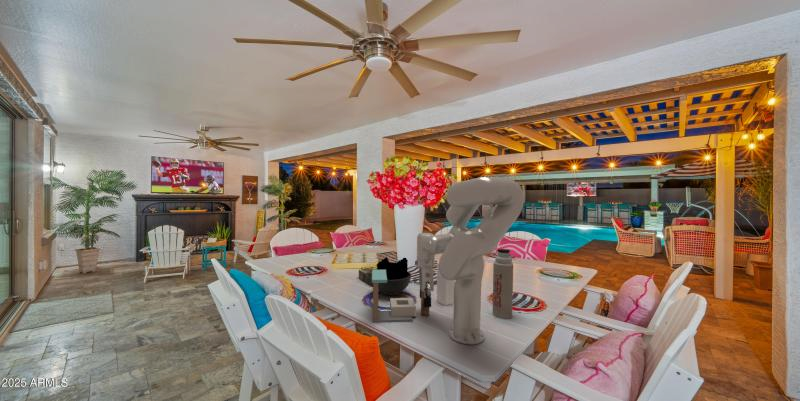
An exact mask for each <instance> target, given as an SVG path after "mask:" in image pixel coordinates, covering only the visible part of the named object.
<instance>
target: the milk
mask: <svg viewBox="0 0 800 401" xmlns="http://www.w3.org/2000/svg"><path fill="white" fill-rule="evenodd" d="M436 264H437V265H436V303H439V304H441V305H443V306H446V307H447V306H449V305H454V285H455V280H447V279H445V278H444V277H442V275H441V274H440V272H439V260H438V261H437V263H436Z"/></svg>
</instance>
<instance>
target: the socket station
mask: <svg viewBox="0 0 800 401" xmlns="http://www.w3.org/2000/svg"><path fill="white" fill-rule="evenodd" d="M372 283H373V287H372V323H373V324H374V323H402V322H405V323H406V322H410V323H411V322H414V319H413V317H416V315H417V314H416V313H417V312H416V309H417V308H416V304H415V301H414V300H415V299H414V298H413V297H395V298H394V297H390V298H389V303H390V304H389V305H390V307H391V311H380V310H378V305H379V290H378V283H387V275H386V270H377V269H375V270H372Z"/></svg>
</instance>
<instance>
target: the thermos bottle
mask: <svg viewBox="0 0 800 401" xmlns="http://www.w3.org/2000/svg"><path fill="white" fill-rule="evenodd" d="M510 252H511V250H510V249H508V248H507V249H506V248H498V249H497V255H496V256H495V258H494V259H495V260H494V261H493V263H492V264H493V269H492V270H493V273H492V274H493V275H492V276H493V277H492V282H493V283H492V315H493V316H494V317H496V318H498V319H506V320H507V319H512V317H513V303H514V302H513V295H514V292H513V291H514V262H513V260H512V259H513V258H512V257H511V256H510Z"/></svg>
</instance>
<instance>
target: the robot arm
mask: <svg viewBox="0 0 800 401" xmlns="http://www.w3.org/2000/svg"><path fill="white" fill-rule="evenodd" d="M445 197H446V202H447V203H448V205H450V206H449V208H448V209H447V211H446V214H445V217H446V219H447V221H448V223H450V224H451V225H452V227H451V228H450V230H449V231H448V232H447V233H442V234H436V235H435V234H433V233H431V232H420V233H418V234H417V237H416V267H417V268H418V283H419V284H418V285H419V299H421V290H422V291H423V292H424V297H423V307H429V308H431V307H432V292H434V291H435V286H434V285H435V284H434V281H435V280H434V279H435V278H434V268H435V264H436V260H435V259H436V255H440V254H441V255H440V258H439V260H438V261H439V272H440V274H441V275H442V277H444V278H445V279H447V280H455V285H454V303H453V320H452V321H453V326H452V327H450V328H449V330H448V335H449V337H450V339H452V340H453V341H455V342H456V343H460V344H465V345H478V344H481V343H482V342H483V341H484V340H485V337H486V336H485V333H484V332H483V330H481V304H482V297H481V296H482V281H483V275H484V274H483V273H484V270H485V260H484V256H488V255H489V254H491V253H492V252H493V251H494V250H495V249H496V247H497V246H498V244H499V243H500V242H501V240H502V239H503V238H504V236H505V235H506V233H507V232H508V231H509V230H510V228H511V227H512V225H513V224H514V223H515V222H516V220H518V217H519V216H520V214H521V212H522V210H523V207H524V203H525V196H524V192H523V190H522V187H521V186H520V184H519V183H518V182H517V181H516V180H514V179H511V178H507V177H496V176H495V177H493V176H492V177H491V176H480V177H477V178H476V177H475V178H472V179H471V178H470V179H467V180H463V181H457V182H454V183H453V184H451V185H450V186H449V187H448V189H447V191H446V196H445ZM482 205H494V206H493V207H492V208H491V209H489V210H488V211H487V213H486V214H485V215H484V216H483V218H482V220H481V221H480V222H479V223H478V224H477V225H476V226H474V227H473V228H471V227H470V228H467V224H468V223H469V221H470V220H471V218H472V217H473V216H474V214H475V213H476V212H477V210H478V209H479V208H480V206H482ZM425 289H427V290H425ZM425 292H427V293H425Z"/></svg>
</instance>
